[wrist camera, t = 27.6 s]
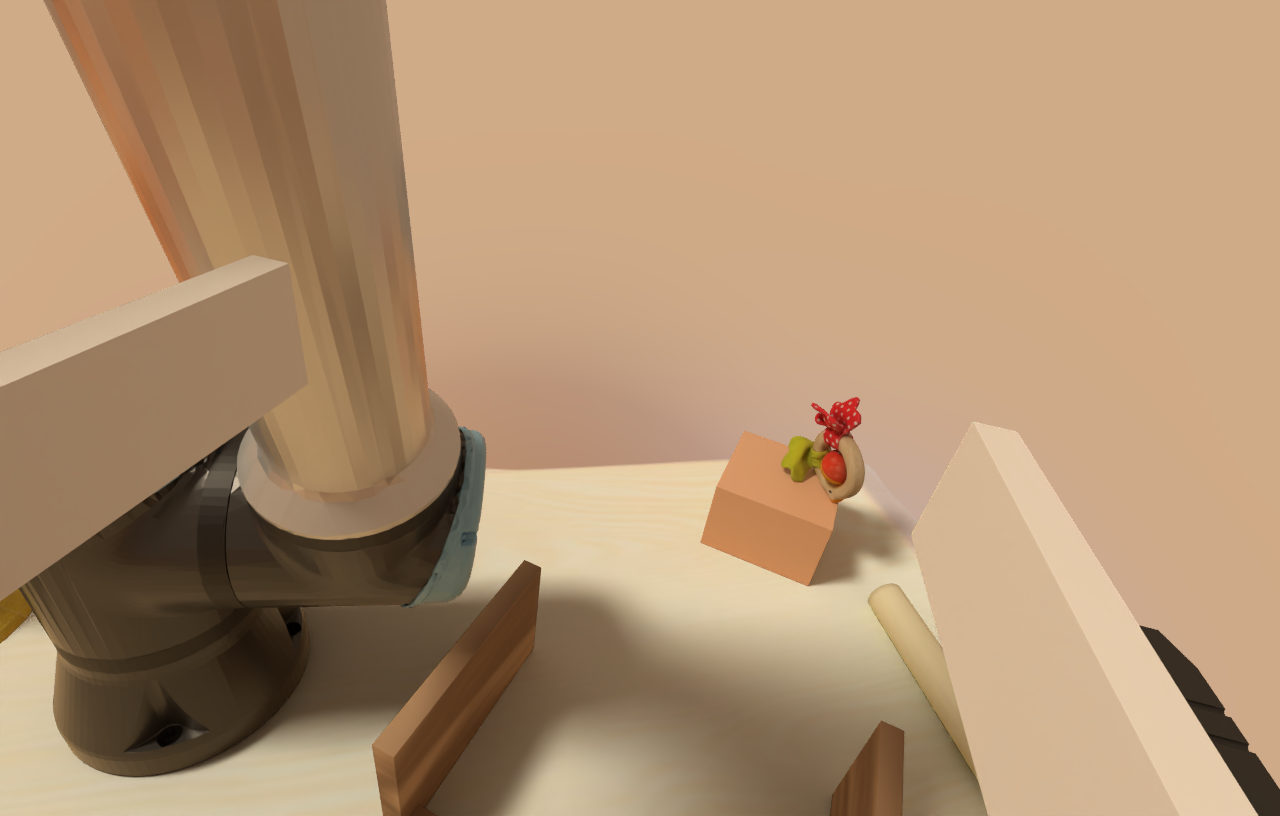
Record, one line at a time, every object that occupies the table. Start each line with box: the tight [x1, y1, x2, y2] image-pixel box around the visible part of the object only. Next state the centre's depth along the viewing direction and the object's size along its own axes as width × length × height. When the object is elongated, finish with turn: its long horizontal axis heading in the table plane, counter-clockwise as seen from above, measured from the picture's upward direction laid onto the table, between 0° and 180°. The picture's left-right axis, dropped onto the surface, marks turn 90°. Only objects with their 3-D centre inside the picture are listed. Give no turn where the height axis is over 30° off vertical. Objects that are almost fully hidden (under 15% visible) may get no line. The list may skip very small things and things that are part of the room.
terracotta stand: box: [701, 431, 838, 586], centre depth 67 cm, size 12×12×8 cm
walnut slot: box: [372, 560, 904, 816], centre depth 39 cm, size 29×16×10 cm, turn 67°
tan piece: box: [868, 584, 979, 782], centre depth 49 cm, size 4×30×4 cm, turn 12°
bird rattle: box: [781, 397, 865, 503], centre depth 61 cm, size 6×11×9 cm
